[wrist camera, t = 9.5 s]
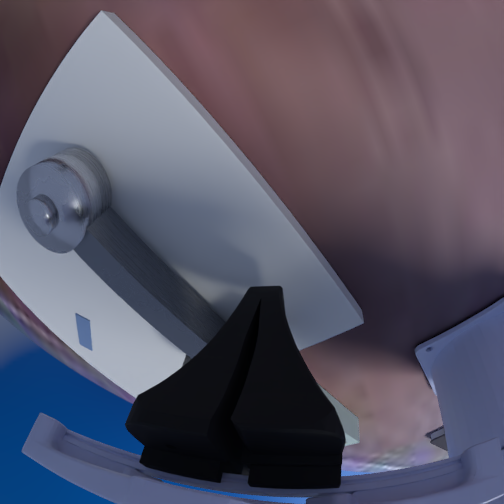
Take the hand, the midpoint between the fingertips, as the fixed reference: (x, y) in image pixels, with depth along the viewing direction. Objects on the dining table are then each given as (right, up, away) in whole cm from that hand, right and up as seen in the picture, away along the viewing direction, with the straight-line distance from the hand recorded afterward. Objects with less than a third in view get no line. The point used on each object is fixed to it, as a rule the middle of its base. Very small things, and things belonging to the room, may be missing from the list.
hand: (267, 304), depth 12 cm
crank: (-6, +1, +1) cm, 6 cm away
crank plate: (-9, +1, +4) cm, 10 cm away
